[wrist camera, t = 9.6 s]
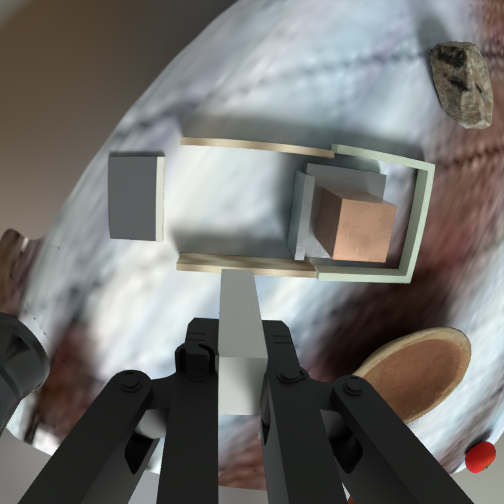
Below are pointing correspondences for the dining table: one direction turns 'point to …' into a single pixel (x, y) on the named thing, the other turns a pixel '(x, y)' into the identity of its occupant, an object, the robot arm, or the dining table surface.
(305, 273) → the channel
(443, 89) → the stone
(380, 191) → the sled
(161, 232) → the mat
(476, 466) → the tomato
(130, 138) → the dining table surface
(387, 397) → the bowl
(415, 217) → the rails
